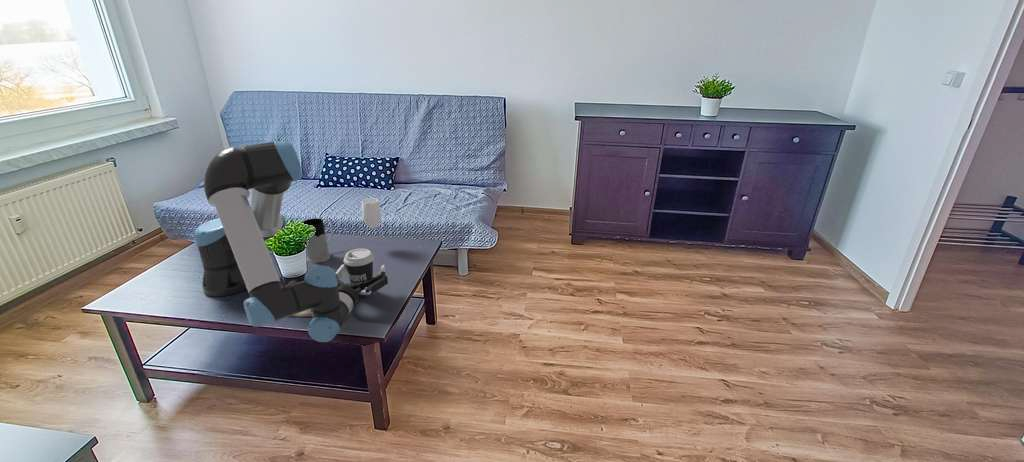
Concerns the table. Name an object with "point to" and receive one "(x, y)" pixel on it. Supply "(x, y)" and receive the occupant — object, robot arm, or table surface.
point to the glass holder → (318, 241)
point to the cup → (371, 212)
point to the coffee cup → (359, 266)
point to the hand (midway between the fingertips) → (363, 268)
